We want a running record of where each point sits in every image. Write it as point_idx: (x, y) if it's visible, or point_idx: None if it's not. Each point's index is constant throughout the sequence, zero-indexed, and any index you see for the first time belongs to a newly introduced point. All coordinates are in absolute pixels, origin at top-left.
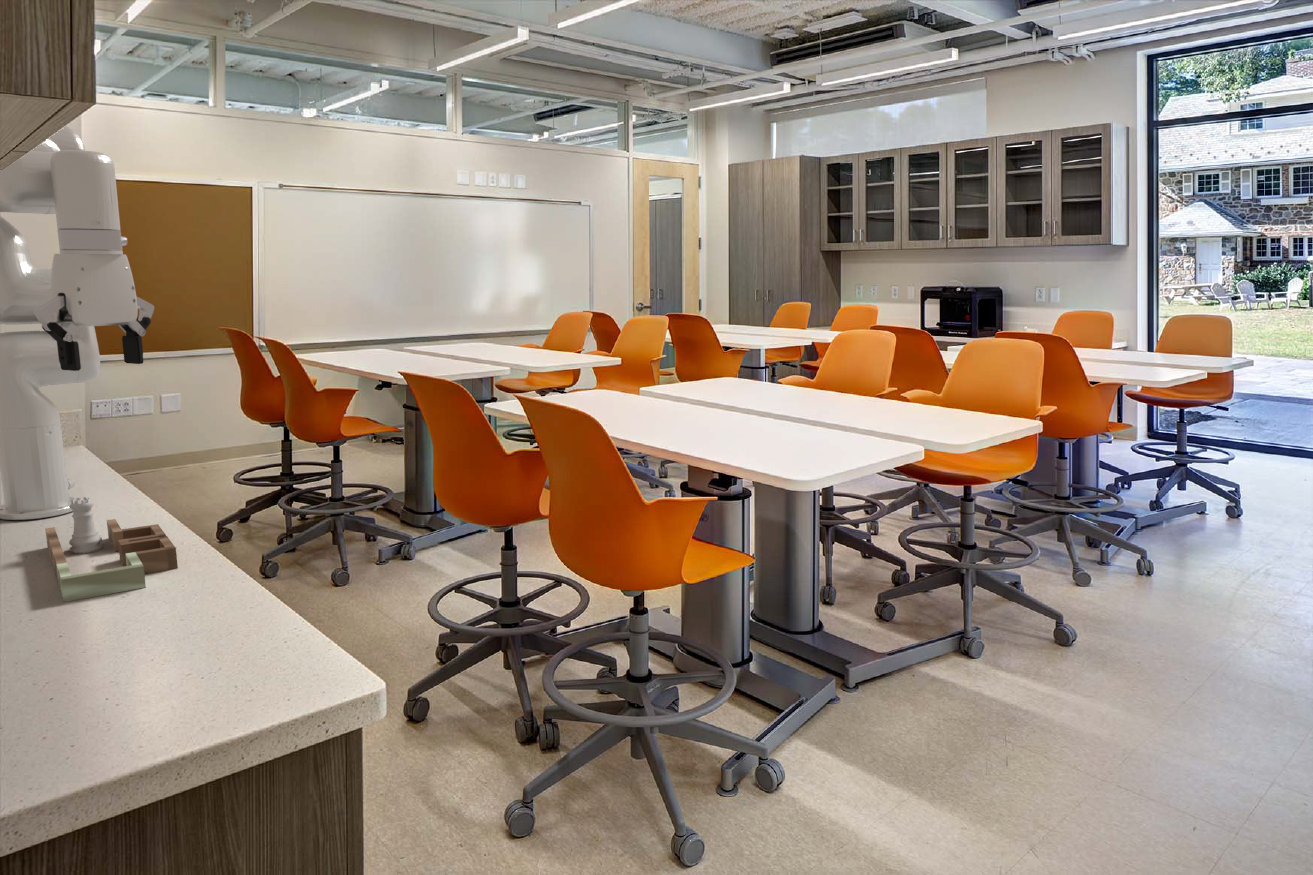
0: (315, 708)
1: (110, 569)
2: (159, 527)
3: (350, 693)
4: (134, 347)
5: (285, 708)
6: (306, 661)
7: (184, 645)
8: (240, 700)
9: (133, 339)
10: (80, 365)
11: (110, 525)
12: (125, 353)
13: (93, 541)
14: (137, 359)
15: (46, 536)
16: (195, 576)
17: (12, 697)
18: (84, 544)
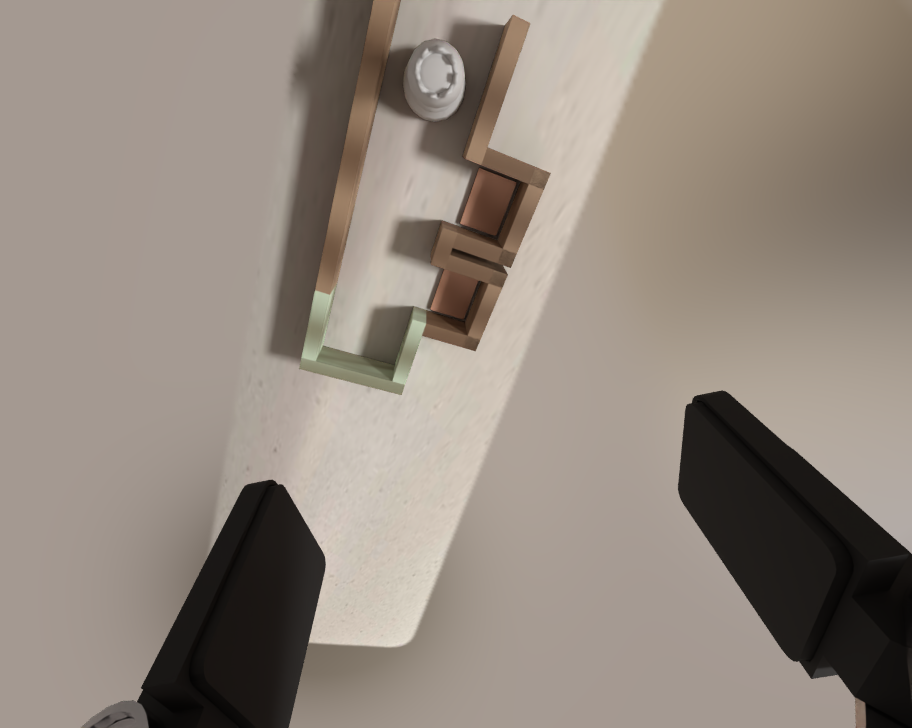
0: (365, 644)
1: (363, 376)
2: (536, 203)
3: (391, 643)
4: (741, 568)
5: (353, 637)
6: (402, 604)
7: (353, 536)
8: (338, 618)
9: (788, 632)
10: (321, 581)
11: (491, 85)
12: (722, 458)
13: (438, 118)
14: (690, 508)
15: None
16: (465, 385)
17: (213, 534)
18: (420, 115)
